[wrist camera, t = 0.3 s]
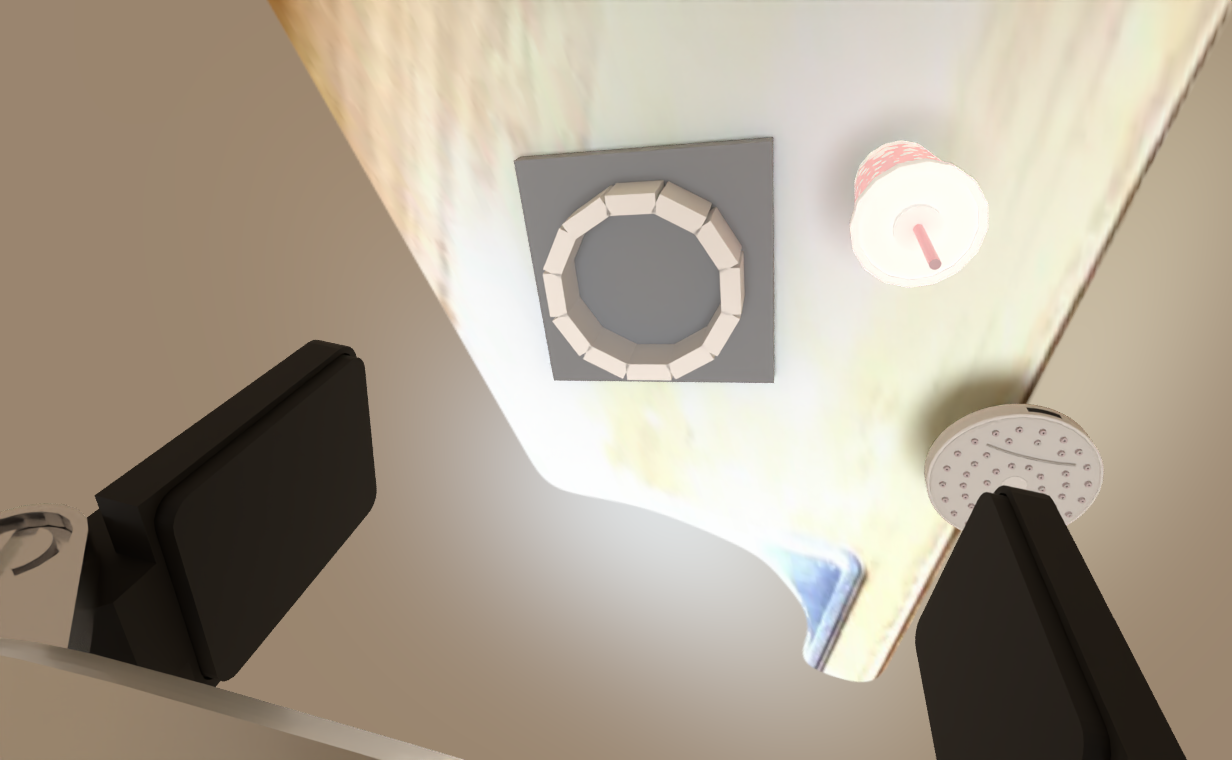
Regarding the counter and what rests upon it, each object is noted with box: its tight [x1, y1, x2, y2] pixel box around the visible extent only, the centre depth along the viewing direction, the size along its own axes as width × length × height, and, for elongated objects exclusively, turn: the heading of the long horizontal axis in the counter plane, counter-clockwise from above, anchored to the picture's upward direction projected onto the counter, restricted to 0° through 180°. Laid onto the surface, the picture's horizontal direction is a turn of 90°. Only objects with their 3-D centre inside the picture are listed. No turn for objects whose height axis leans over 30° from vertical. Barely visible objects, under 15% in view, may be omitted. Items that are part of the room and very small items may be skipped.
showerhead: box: [924, 404, 1104, 531], centre depth 43 cm, size 9×7×10 cm
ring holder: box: [514, 137, 774, 383], centre depth 44 cm, size 16×16×4 cm
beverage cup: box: [850, 140, 988, 288], centre depth 34 cm, size 6×6×14 cm
